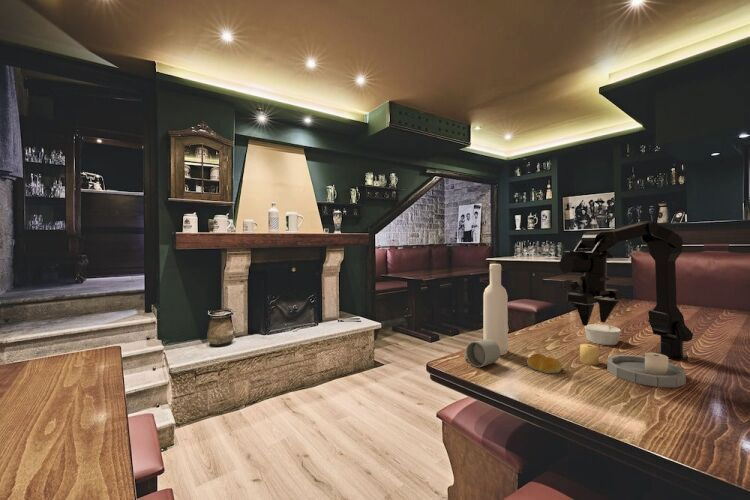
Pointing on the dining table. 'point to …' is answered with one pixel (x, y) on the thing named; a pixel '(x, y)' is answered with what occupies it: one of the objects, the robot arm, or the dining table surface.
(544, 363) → the bread roll
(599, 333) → the ramekin
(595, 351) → the ochre bead
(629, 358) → the round tray
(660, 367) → the cream bead
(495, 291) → the bottle
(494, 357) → the ceramic mug
